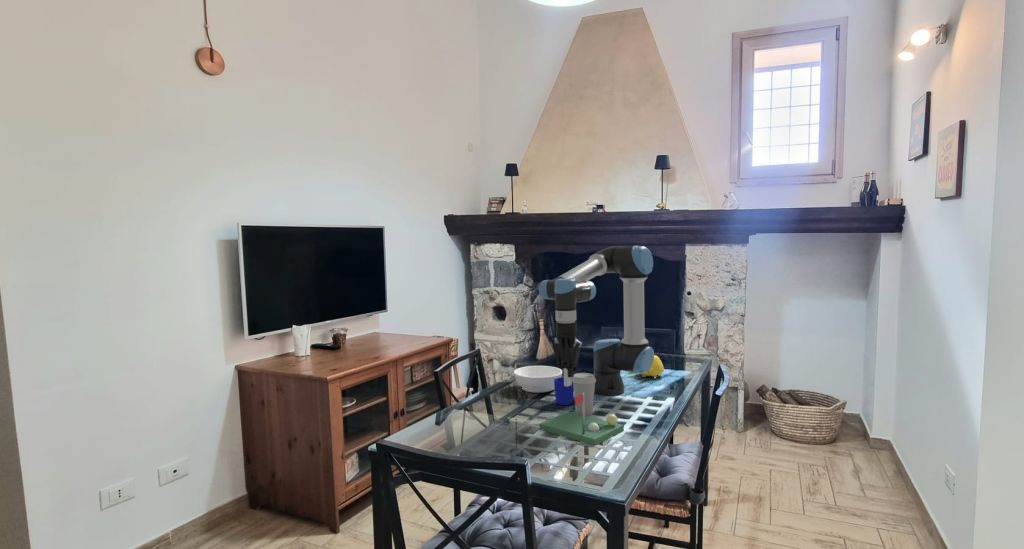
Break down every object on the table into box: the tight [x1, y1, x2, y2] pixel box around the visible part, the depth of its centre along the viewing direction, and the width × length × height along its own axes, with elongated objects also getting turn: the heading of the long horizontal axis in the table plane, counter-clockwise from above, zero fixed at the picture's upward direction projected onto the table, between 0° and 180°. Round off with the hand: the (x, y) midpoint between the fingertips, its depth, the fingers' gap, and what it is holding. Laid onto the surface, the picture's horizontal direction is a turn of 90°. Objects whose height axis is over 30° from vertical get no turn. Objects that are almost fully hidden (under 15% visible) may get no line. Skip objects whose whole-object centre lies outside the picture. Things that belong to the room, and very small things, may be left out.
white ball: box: [588, 423, 599, 431], centre depth 191 cm, size 4×4×4 cm
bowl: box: [513, 365, 563, 393], centre depth 249 cm, size 22×22×8 cm
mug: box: [554, 376, 575, 406], centre depth 226 cm, size 8×12×10 cm
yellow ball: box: [605, 413, 619, 426], centre depth 193 cm, size 4×4×4 cm
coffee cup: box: [572, 372, 596, 416], centre depth 213 cm, size 10×10×15 cm
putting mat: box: [538, 411, 625, 446], centre depth 195 cm, size 18×24×2 cm
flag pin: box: [574, 393, 585, 434], centre depth 184 cm, size 5×1×14 cm, turn 137°
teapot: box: [638, 354, 665, 378], centre depth 268 cm, size 20×15×12 cm
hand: (567, 385), depth 199 cm, fingers closed
